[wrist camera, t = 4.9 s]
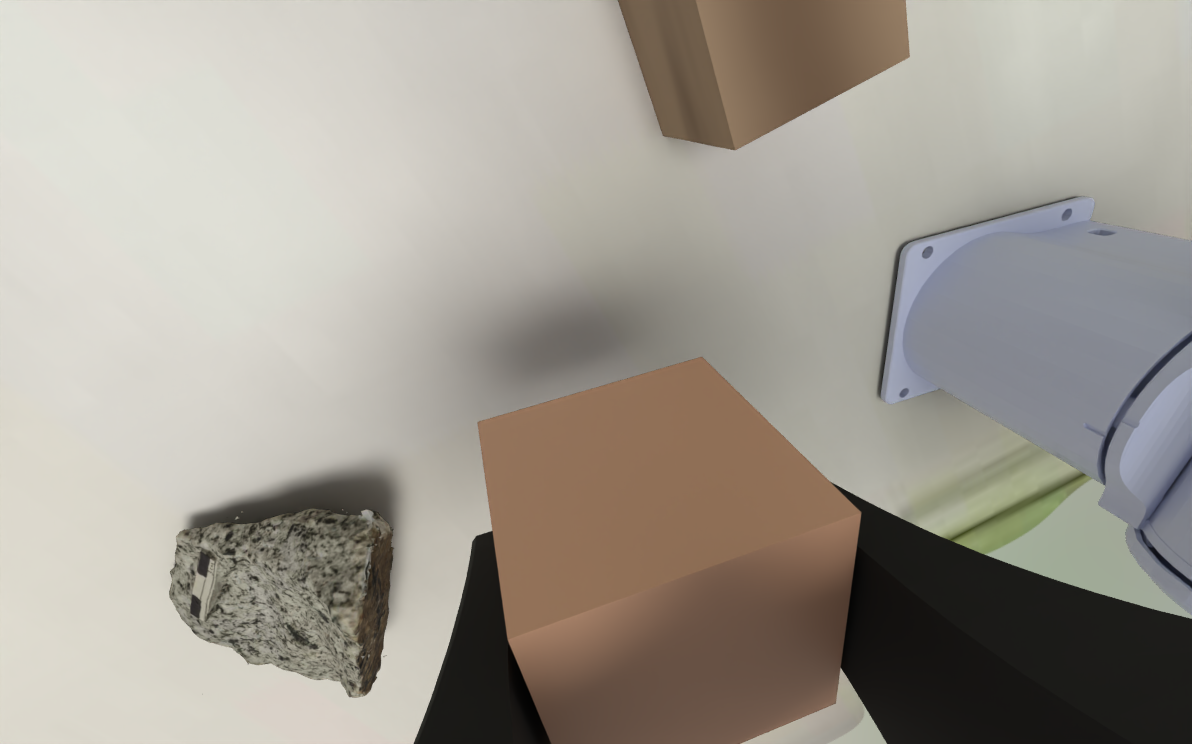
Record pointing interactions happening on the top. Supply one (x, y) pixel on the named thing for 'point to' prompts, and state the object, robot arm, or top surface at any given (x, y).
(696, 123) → the walnut block
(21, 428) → the top surface
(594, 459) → the terracotta block
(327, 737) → the top surface
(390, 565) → the rock sample
